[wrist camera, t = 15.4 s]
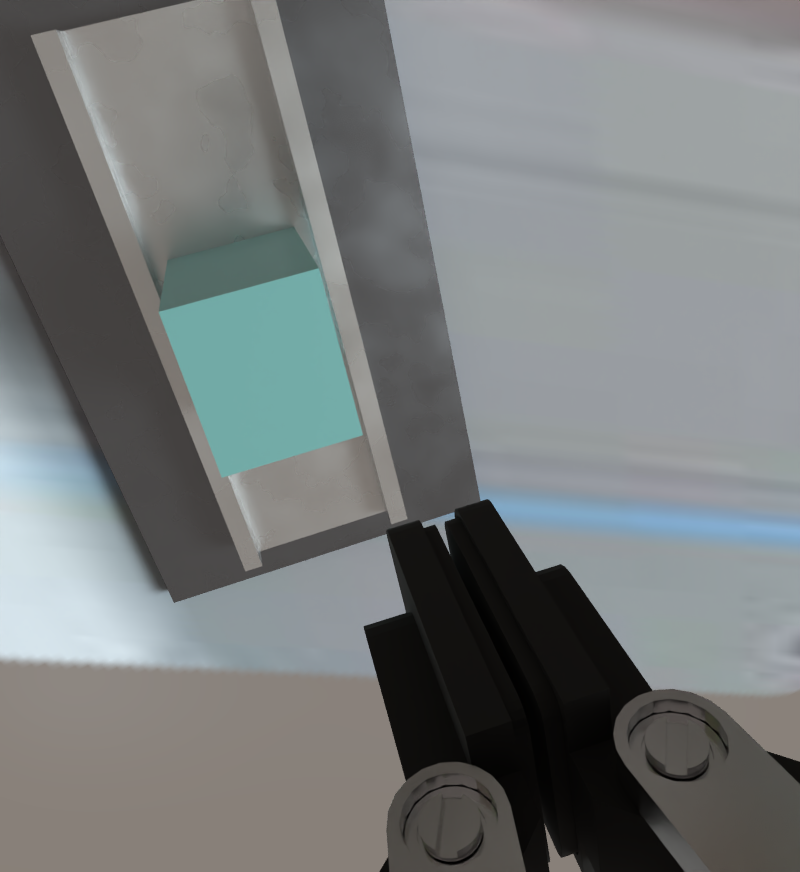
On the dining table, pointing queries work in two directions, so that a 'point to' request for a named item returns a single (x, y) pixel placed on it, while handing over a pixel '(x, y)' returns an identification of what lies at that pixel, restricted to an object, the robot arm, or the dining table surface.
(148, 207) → the rail board
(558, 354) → the dining table surface
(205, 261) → the block
